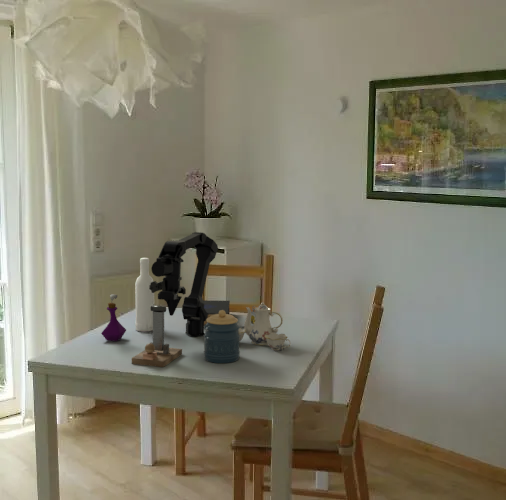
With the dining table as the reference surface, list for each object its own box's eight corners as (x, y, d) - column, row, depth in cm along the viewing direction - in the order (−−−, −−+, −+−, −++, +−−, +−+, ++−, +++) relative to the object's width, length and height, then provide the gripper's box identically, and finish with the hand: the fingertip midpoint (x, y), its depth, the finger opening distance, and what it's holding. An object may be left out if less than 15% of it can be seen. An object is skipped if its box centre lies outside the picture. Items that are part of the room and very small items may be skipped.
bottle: (137, 332, 270) (136, 260, 266) (133, 327, 278) (133, 257, 274) (156, 331, 273) (156, 259, 269) (152, 326, 280) (152, 256, 276)
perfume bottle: (119, 342, 255) (118, 297, 252) (101, 341, 256) (100, 296, 254) (126, 337, 262) (126, 293, 260) (109, 336, 264) (108, 292, 261)
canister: (226, 366, 228) (226, 316, 226) (196, 359, 235) (196, 311, 233) (246, 356, 239) (247, 309, 237) (217, 351, 246) (217, 304, 244)
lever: (153, 348, 237) (153, 304, 235) (166, 349, 236) (166, 306, 234) (150, 349, 236) (150, 306, 233) (164, 351, 234) (163, 307, 232)
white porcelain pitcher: (236, 331, 274) (236, 307, 273) (244, 326, 282) (244, 303, 281) (254, 333, 271) (254, 309, 270) (261, 329, 279) (262, 305, 278)
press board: (152, 351, 245) (152, 332, 244) (182, 354, 241) (182, 335, 240) (131, 363, 229) (131, 343, 228) (163, 367, 226) (163, 346, 225)
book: (229, 314, 305) (229, 300, 304) (228, 328, 281) (228, 313, 280) (192, 314, 305) (192, 300, 304) (187, 328, 280) (187, 312, 279)
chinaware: (217, 349, 254) (216, 308, 250) (233, 334, 269) (232, 295, 265) (287, 358, 244) (286, 315, 240) (299, 342, 260) (299, 301, 256)
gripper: (159, 270, 260) (157, 310, 262) (144, 275, 242) (143, 318, 243) (186, 272, 259) (185, 312, 260) (174, 277, 241) (172, 320, 242)
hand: (171, 315), depth 251 cm, fingers closed
